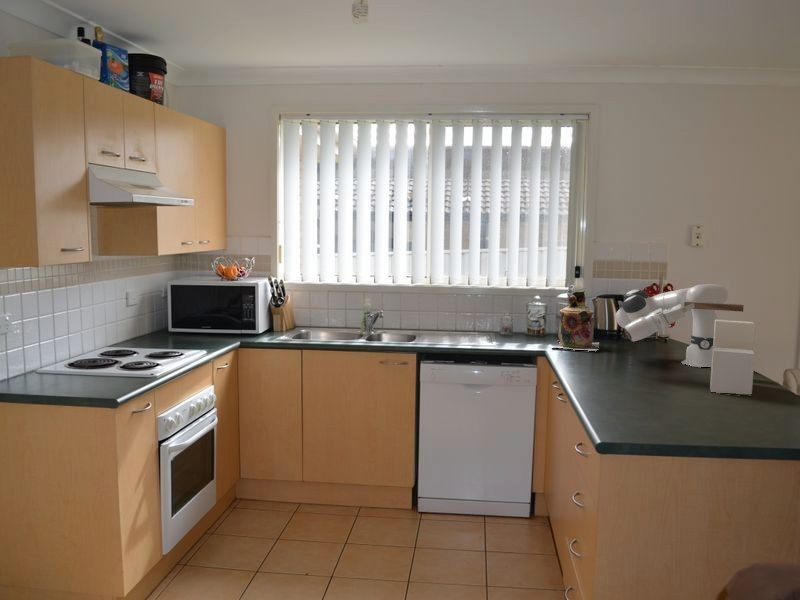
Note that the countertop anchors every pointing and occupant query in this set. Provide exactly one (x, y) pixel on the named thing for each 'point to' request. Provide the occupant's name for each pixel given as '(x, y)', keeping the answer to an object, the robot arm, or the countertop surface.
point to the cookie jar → (576, 324)
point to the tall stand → (734, 334)
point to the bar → (716, 306)
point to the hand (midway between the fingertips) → (694, 304)
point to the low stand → (732, 370)
